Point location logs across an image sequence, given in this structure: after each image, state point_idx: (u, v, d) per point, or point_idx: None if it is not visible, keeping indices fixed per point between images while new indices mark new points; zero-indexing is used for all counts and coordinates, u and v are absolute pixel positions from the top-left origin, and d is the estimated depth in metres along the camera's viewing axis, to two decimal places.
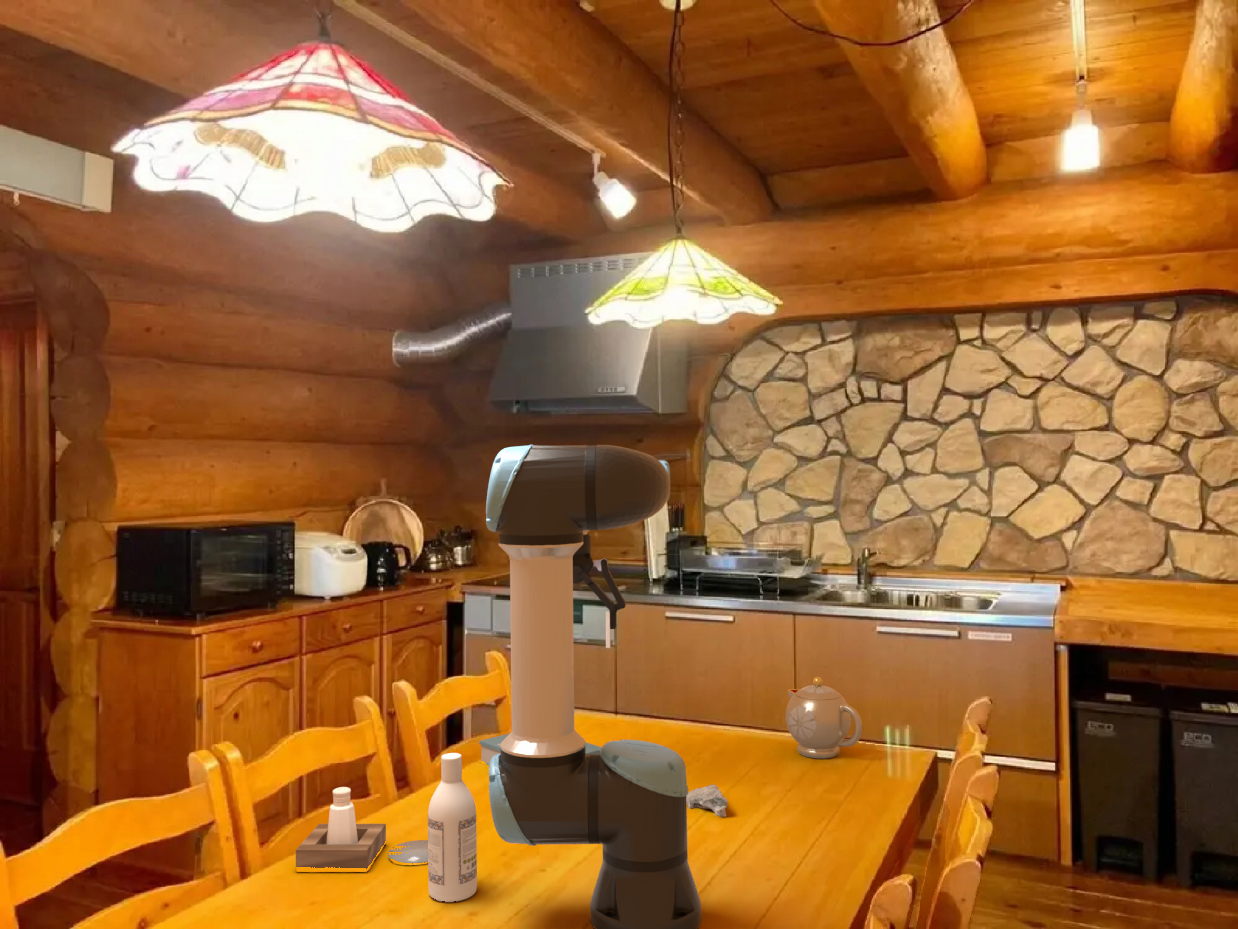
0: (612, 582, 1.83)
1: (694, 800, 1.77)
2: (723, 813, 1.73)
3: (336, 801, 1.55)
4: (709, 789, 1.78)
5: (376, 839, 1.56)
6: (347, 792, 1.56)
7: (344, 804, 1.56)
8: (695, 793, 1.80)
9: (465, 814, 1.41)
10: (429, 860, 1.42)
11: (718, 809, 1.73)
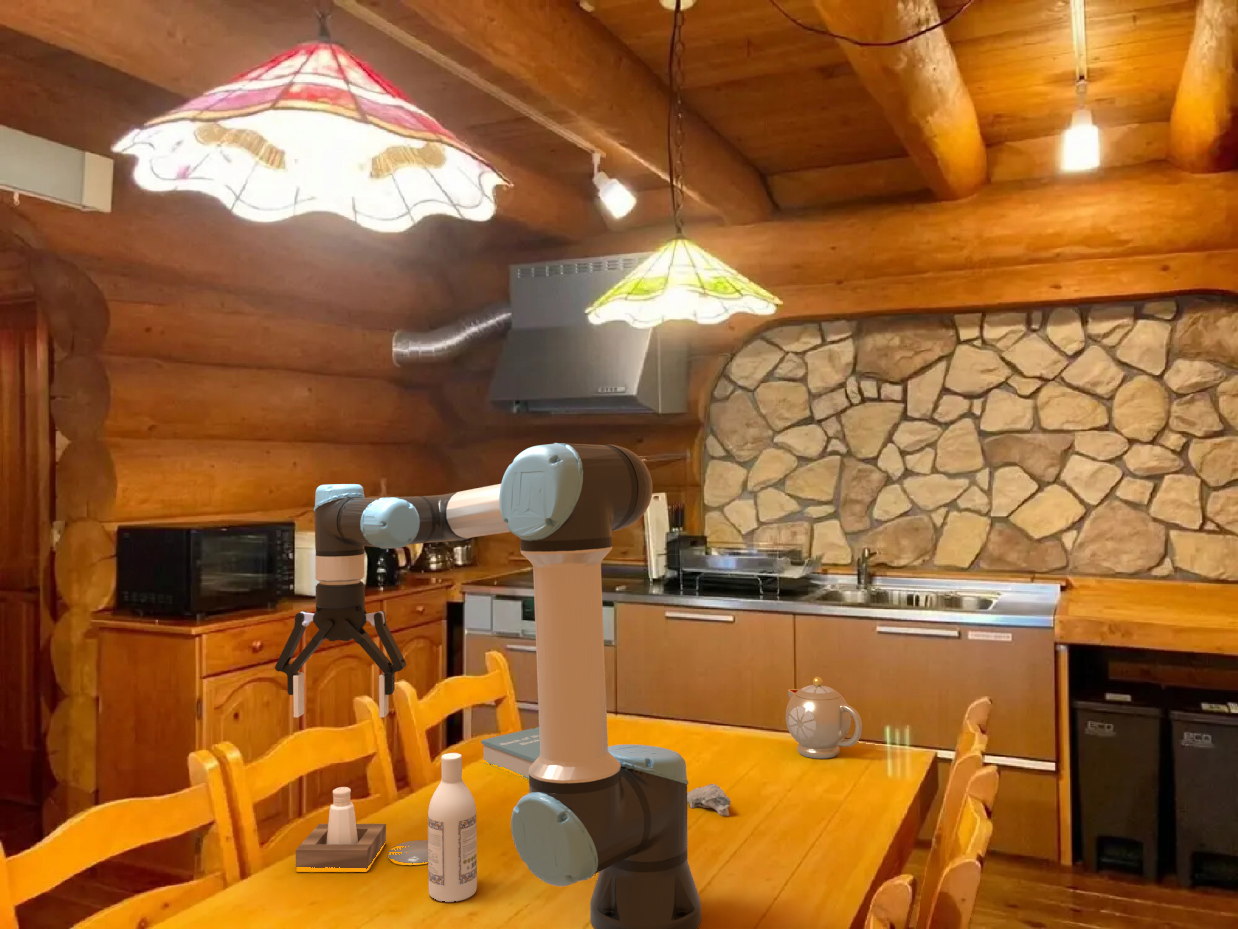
0: (387, 640, 1.55)
1: (696, 799, 1.78)
2: (726, 812, 1.74)
3: (336, 801, 1.55)
4: (711, 788, 1.79)
5: (376, 839, 1.56)
6: (347, 792, 1.56)
7: (344, 804, 1.56)
8: (696, 792, 1.80)
9: (465, 814, 1.41)
10: (429, 860, 1.42)
11: (721, 808, 1.73)
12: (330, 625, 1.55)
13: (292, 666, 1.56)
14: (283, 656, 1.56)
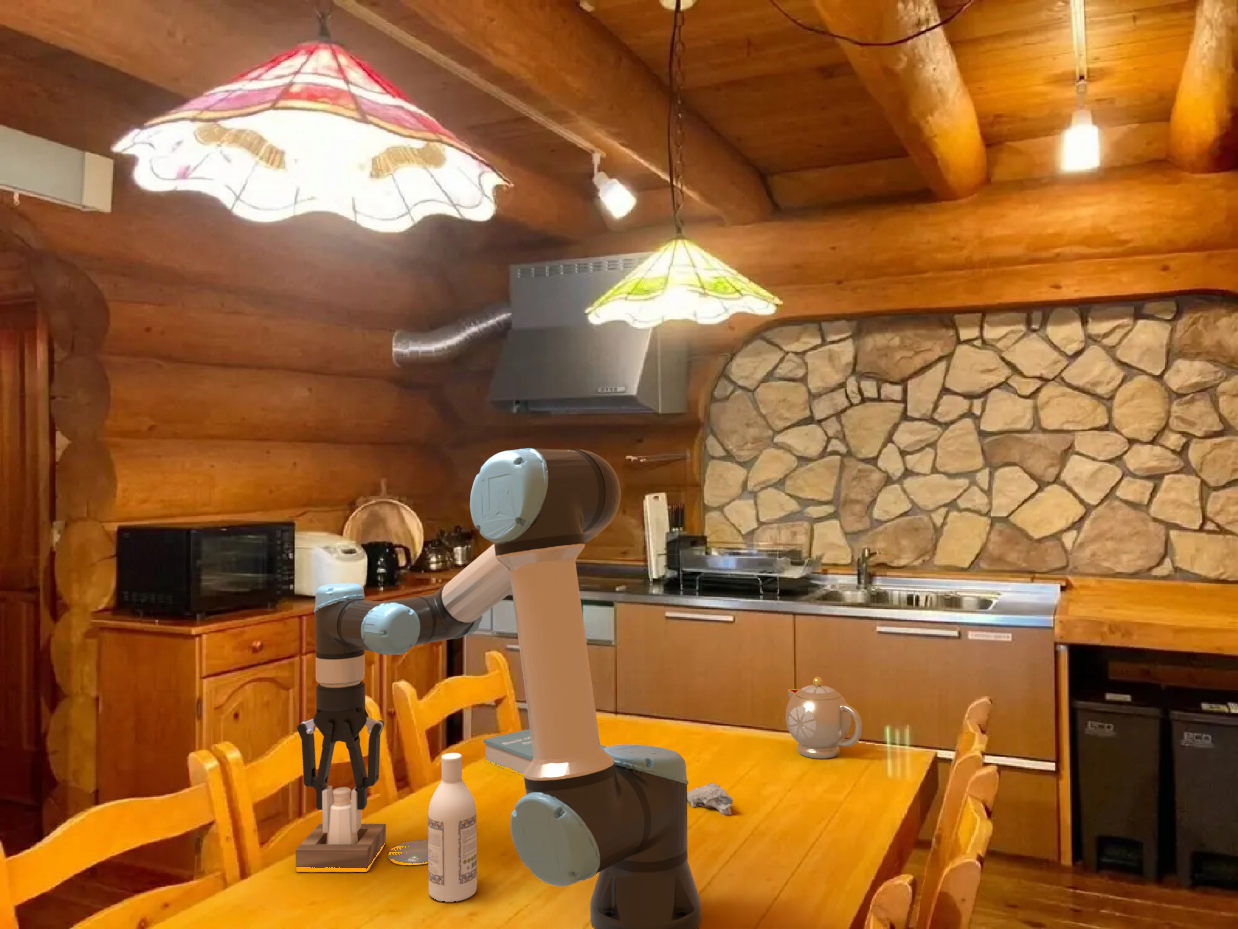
0: (374, 753, 1.55)
1: (697, 799, 1.78)
2: (728, 811, 1.74)
3: (336, 801, 1.55)
4: (711, 788, 1.79)
5: (376, 839, 1.56)
6: (347, 792, 1.56)
7: (344, 804, 1.56)
8: (696, 792, 1.81)
9: (465, 814, 1.41)
10: (429, 860, 1.42)
11: (724, 807, 1.74)
12: (331, 726, 1.55)
13: (318, 781, 1.55)
14: (306, 770, 1.55)
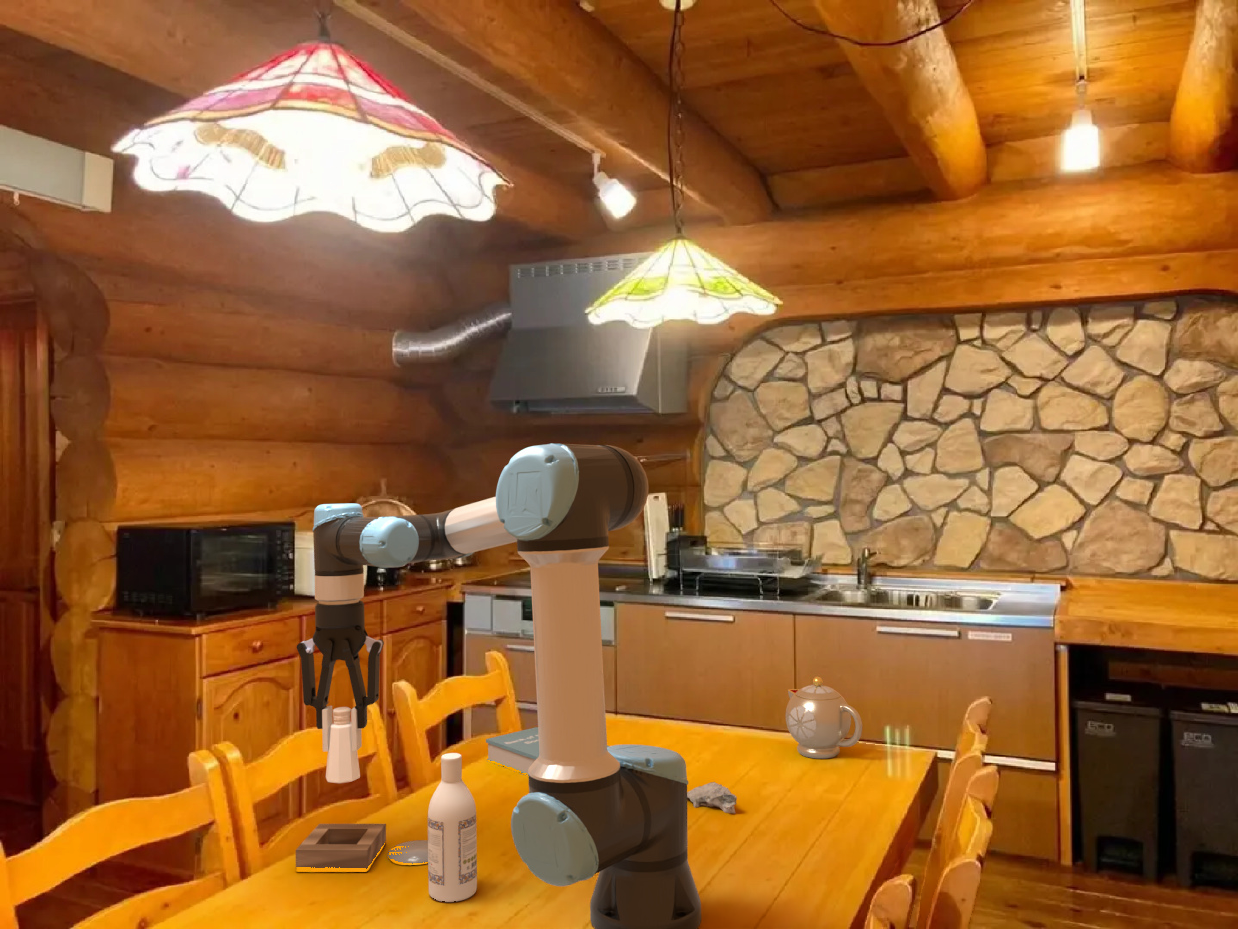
0: (373, 671, 1.55)
1: (700, 798, 1.78)
2: (732, 809, 1.75)
3: (336, 720, 1.55)
4: (713, 787, 1.80)
5: (376, 839, 1.56)
6: (347, 711, 1.56)
7: (344, 723, 1.55)
8: (698, 791, 1.81)
9: (465, 814, 1.41)
10: (429, 860, 1.42)
11: (728, 806, 1.74)
12: (330, 644, 1.55)
13: (318, 699, 1.55)
14: (306, 689, 1.55)
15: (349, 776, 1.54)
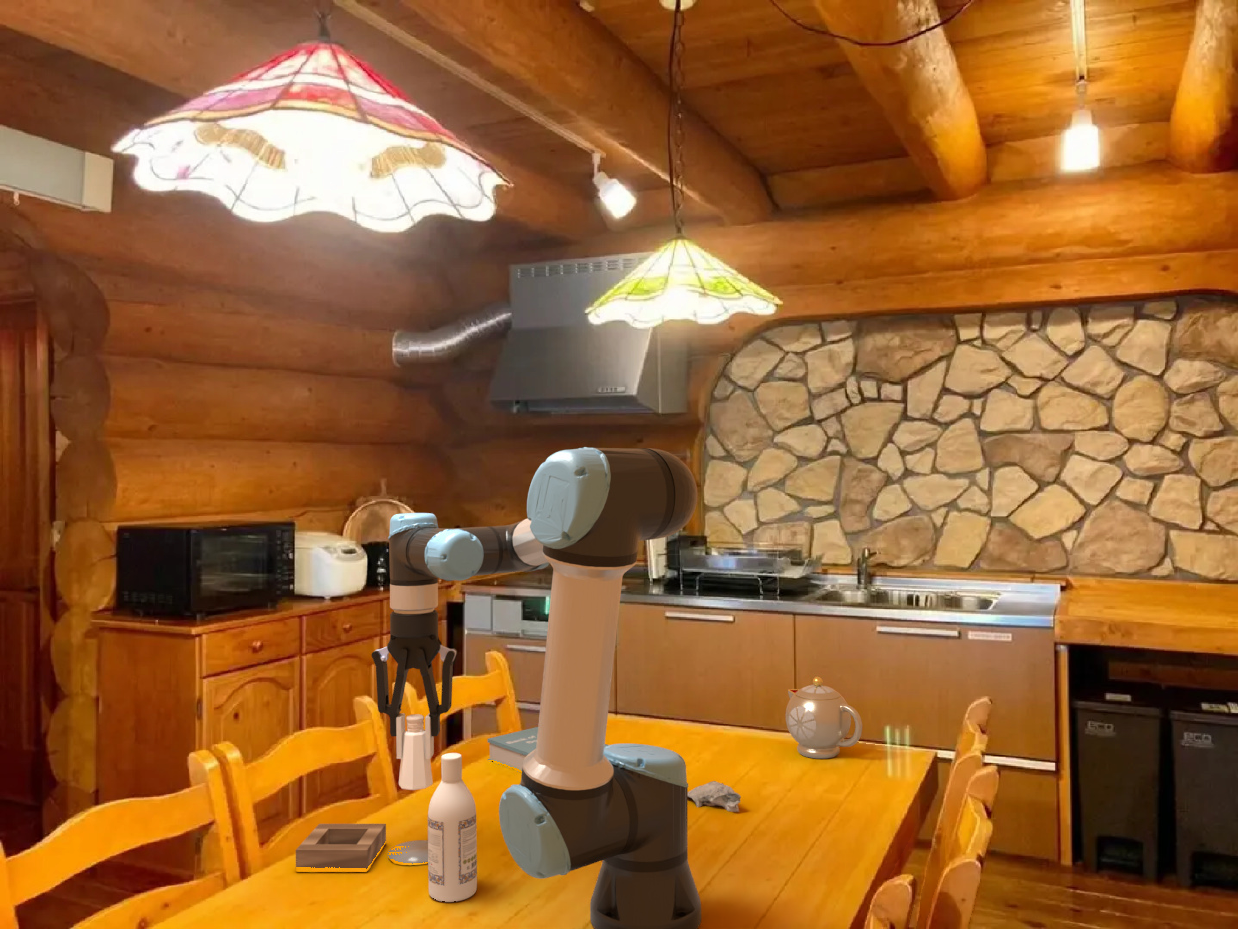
0: (447, 680, 1.57)
1: (703, 798, 1.78)
2: (736, 808, 1.76)
3: (410, 727, 1.57)
4: (715, 786, 1.80)
5: (376, 839, 1.56)
6: (421, 718, 1.57)
7: (418, 730, 1.57)
8: (699, 791, 1.81)
9: (465, 814, 1.41)
10: (429, 860, 1.42)
11: (733, 804, 1.75)
12: (405, 653, 1.56)
13: (392, 707, 1.57)
14: (380, 697, 1.57)
15: (423, 783, 1.56)
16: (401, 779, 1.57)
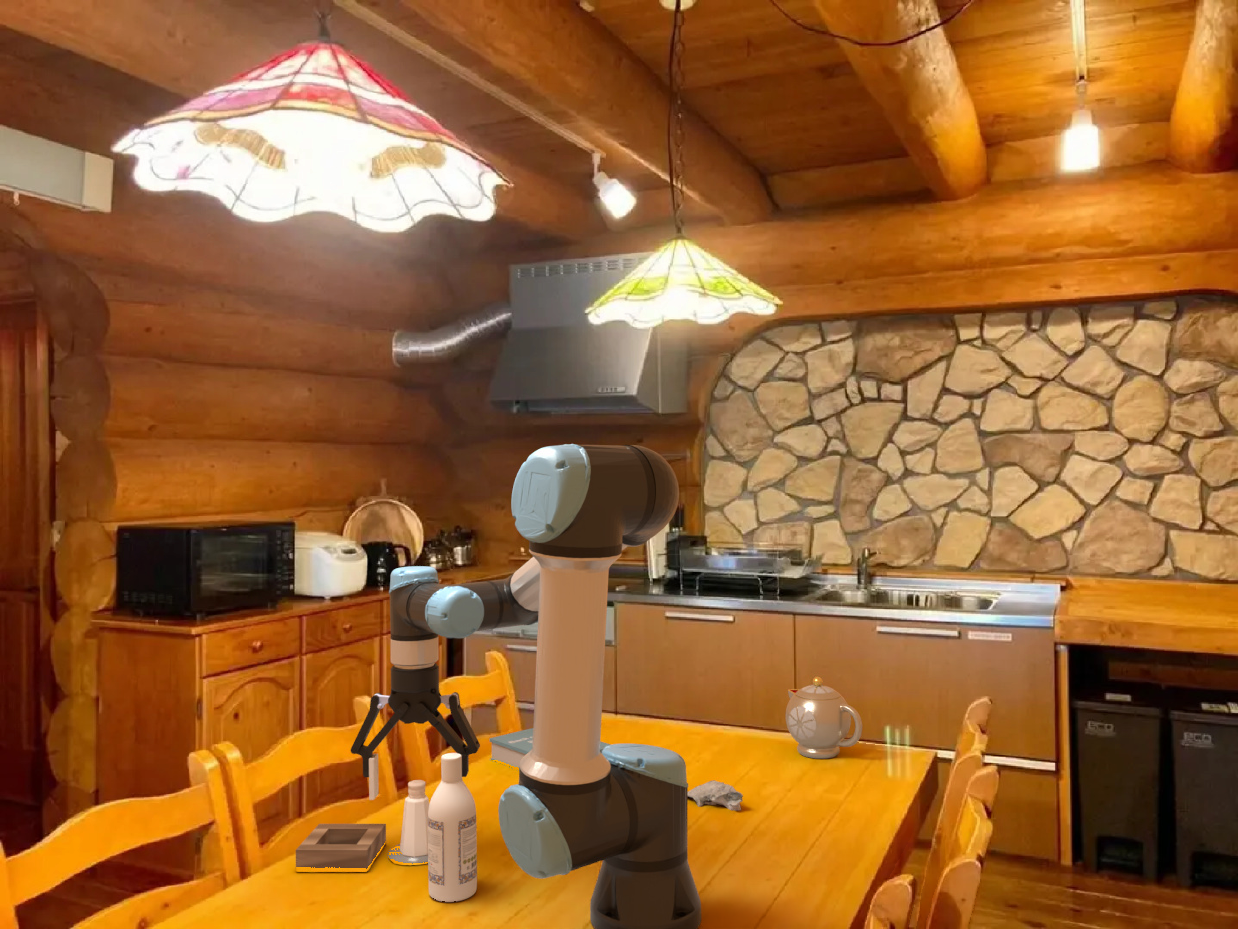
0: (462, 722, 1.56)
1: (704, 797, 1.79)
2: (738, 807, 1.76)
3: (412, 794, 1.57)
4: (716, 785, 1.80)
5: (376, 839, 1.56)
6: (422, 785, 1.57)
7: (419, 797, 1.57)
8: (700, 790, 1.82)
9: (465, 814, 1.41)
10: (429, 860, 1.42)
11: (735, 803, 1.75)
12: (406, 708, 1.56)
13: (368, 749, 1.57)
14: (359, 739, 1.57)
15: (424, 850, 1.56)
16: (402, 846, 1.56)
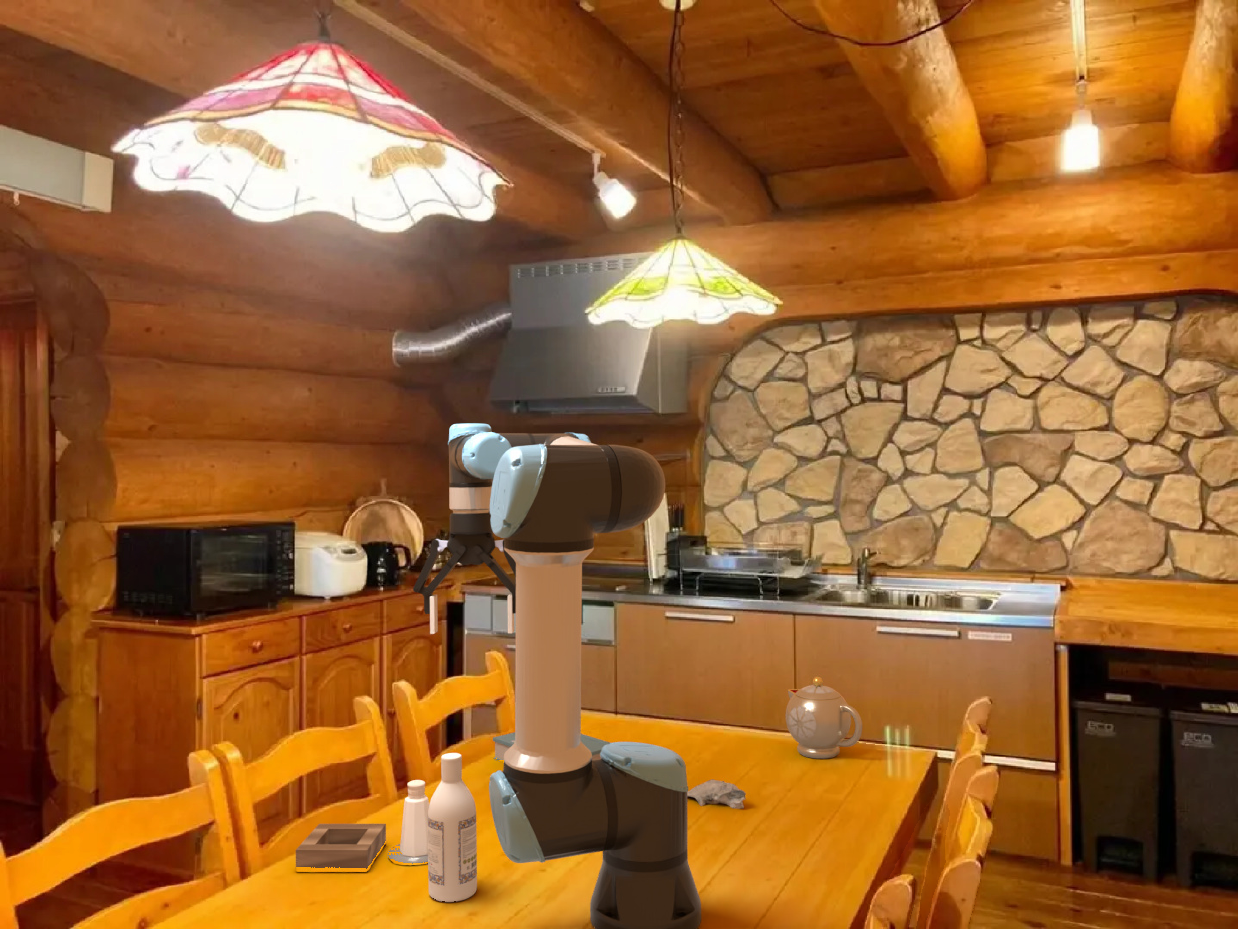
0: (514, 563, 1.72)
1: (706, 796, 1.79)
2: (741, 805, 1.77)
3: (411, 794, 1.57)
4: (717, 784, 1.81)
5: (376, 839, 1.56)
6: (422, 785, 1.57)
7: (419, 797, 1.57)
8: (701, 790, 1.82)
9: (465, 814, 1.41)
10: (429, 860, 1.42)
11: (738, 801, 1.76)
12: (463, 550, 1.72)
13: (429, 587, 1.73)
14: (420, 578, 1.73)
15: (424, 850, 1.56)
16: (402, 846, 1.56)
